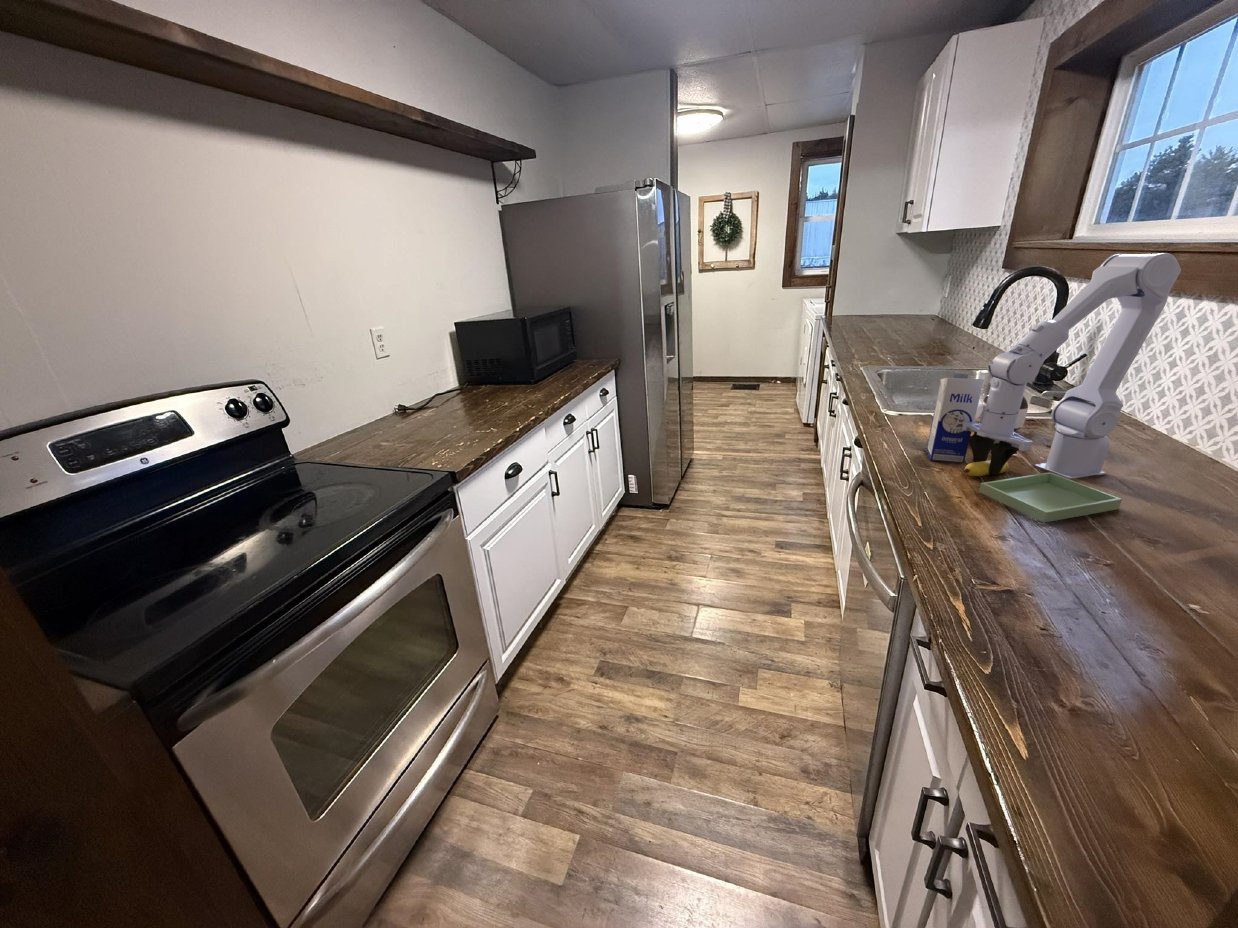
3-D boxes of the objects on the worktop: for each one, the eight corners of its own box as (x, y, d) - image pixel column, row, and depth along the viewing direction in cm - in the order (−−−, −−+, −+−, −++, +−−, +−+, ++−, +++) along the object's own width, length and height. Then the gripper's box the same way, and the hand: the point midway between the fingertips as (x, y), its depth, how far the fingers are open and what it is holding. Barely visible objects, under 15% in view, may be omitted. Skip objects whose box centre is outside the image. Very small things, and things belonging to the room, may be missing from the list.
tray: (1046, 483, 104) (1050, 471, 103) (1117, 511, 92) (1122, 499, 91) (978, 494, 101) (981, 482, 100) (1042, 525, 89) (1046, 512, 88)
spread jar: (1026, 434, 130) (1039, 391, 126) (982, 436, 131) (993, 393, 126) (995, 420, 141) (1005, 380, 137) (954, 422, 142) (963, 382, 137)
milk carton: (929, 460, 118) (947, 377, 110) (925, 450, 123) (941, 370, 116) (964, 463, 115) (985, 378, 107) (958, 453, 121) (977, 372, 113)
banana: (996, 469, 112) (1000, 456, 110) (1010, 474, 109) (1014, 461, 107) (956, 475, 110) (959, 461, 108) (968, 481, 107) (972, 467, 105)
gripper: (956, 404, 109) (943, 460, 115) (1018, 422, 96) (1001, 486, 102) (983, 400, 111) (969, 457, 116) (1048, 419, 98) (1029, 481, 103)
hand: (985, 470), depth 109 cm, fingers closed on banana, 3 cm apart
